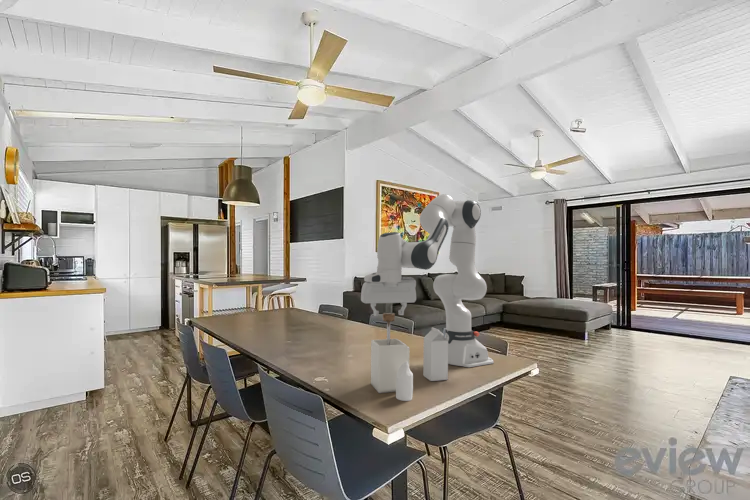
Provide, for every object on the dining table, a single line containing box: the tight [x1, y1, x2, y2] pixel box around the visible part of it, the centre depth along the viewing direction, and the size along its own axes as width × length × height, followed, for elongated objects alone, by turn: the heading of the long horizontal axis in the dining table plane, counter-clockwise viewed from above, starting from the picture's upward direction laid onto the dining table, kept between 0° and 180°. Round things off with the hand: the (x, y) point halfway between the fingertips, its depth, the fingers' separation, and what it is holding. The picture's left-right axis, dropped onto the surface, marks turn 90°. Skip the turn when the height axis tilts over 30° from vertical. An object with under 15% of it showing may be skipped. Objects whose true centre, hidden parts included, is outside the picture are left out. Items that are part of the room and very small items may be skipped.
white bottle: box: [395, 362, 414, 402], centre depth 125 cm, size 6×12×6 cm
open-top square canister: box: [370, 338, 410, 394], centre depth 135 cm, size 13×10×16 cm
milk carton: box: [422, 327, 449, 382], centre depth 145 cm, size 7×7×19 cm
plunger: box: [382, 312, 396, 345], centre depth 135 cm, size 8×8×16 cm
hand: (388, 315), depth 135 cm, fingers open, 8 cm apart
